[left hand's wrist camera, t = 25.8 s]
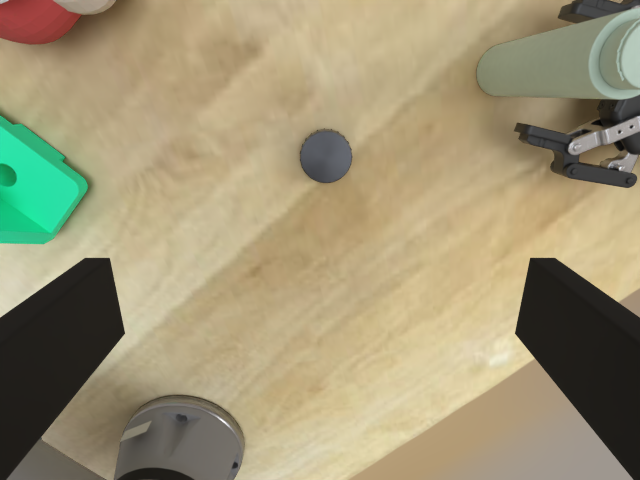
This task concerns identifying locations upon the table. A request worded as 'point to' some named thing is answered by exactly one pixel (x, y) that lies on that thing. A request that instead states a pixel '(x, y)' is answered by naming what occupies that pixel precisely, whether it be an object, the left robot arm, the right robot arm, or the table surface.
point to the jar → (568, 61)
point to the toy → (44, 18)
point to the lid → (326, 156)
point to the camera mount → (34, 187)
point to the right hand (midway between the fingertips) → (541, 71)
